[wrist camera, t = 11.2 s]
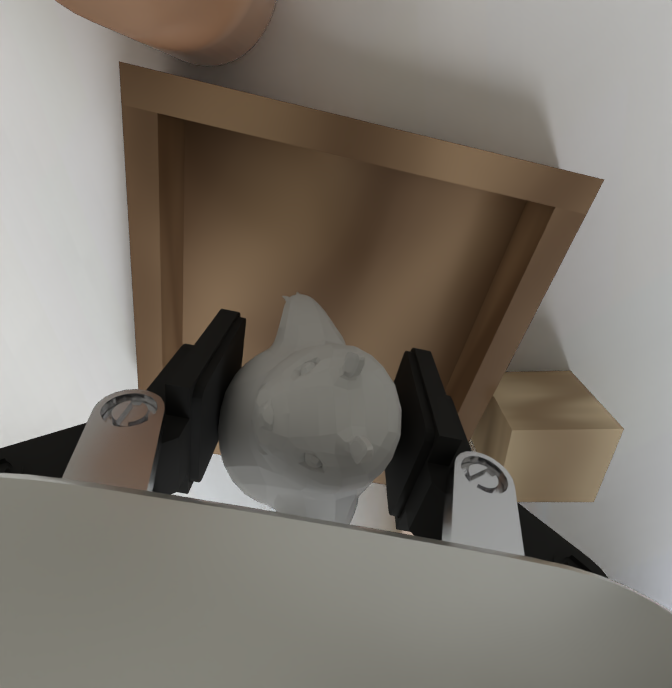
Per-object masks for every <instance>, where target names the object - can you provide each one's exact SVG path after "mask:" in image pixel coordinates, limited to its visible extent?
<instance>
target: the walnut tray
mask: <svg viewBox="0 0 672 688" xmlns="http://www.w3.org/2000/svg"><path fill="white" fill-rule="evenodd" d="M119 69H120V86H121V103H122V120H123V136H124V153H125V170H126V187H127V204H128V221H129V238H130V255H131V271H132V288H133V305H134V322H135V339H136V356H137V373H138V389H140V390H147V388H148V387H149V386H150V385H151V383H152V382H153V381H154V380H155V378H156V377H157V376H158V375H159V373H160V372H161V371H162V370H163V368H164V367H165V366H166V365H167V363H168V362H169V361H170V360H171V358H172V357H173V356H174V355H175V353H176V352H177V351H178V350H179V348H180V347H181V346H182V345H183V344H191V345H194V344H195V343H196V342H197V340H198V339H199V338H200V336H201V335H202V334H203V332H204V331H205V329H206V328H207V327H208V325H209V324H210V323H211V321H212V320H213V319H214V317H215V316H216V315H217V313H218V312H219V311H220V309H226V310H231V311H236V312H240V315H241V317H243V318H246V328H245V338H244V348H243V358H242V367H243V366H244V365H245V364H246V363H247V362H249V361H250V360H251V359H253V358H254V357H255V356H257V355H258V354H260V353H262V352H264V351H265V350H267V349H269V348H270V347H271V346H272V344H273V343H274V341H275V338H276V335H277V332H278V328H279V325H280V321H281V317H282V313H283V308H284V306H285V303H286V301H285V299H284V298H283V297H282V296H288V297H291V296H293V295H296V292H298V293H299V294H303V295H306V296H309V297H311V298H313V299H314V300H315V301H316V302H317V303H318V304H319V305H320V306H321V307H322V308H323V309H324V311H325V312H326V313H327V315H328V316H329V318H330V319H331V321H332V322H333V324H334V325H335V327H336V328H337V330H338V331H339V332H340V334H341V335H342V337H343V339H344V341H345V344H346V345H349V346H355V347H357V348H359V349H361V350H363V351H365V352H366V353H368V354H370V355H372V356H373V357H374V358H375V359H376V360H377V361H378V362H379V363H380V364H381V365H382V366H383V367H384V368H385V370H386V372H387V373H388V375H389V376H390V378H391V379H392V381H393V382H394V380H395V377H396V374H397V371H398V368H399V366H400V363H401V360H402V357H403V354H404V352H405V351H411V349H412V348H417V349H422V350H427V351H431V353H432V356H433V359H434V361H435V364H436V367H437V370H438V373H439V375H440V378H441V381H442V384H443V387H444V389H445V392H446V395H449V396H451V398H452V400H453V402H454V405H455V408H456V410H457V413H458V416H459V418H460V421H461V424H462V427H463V429H464V432H465V435H466V437H467V440H468V443H469V441H470V439H471V437H472V435H473V433H474V431H475V429H476V427H477V425H478V423H479V421H480V420H481V418H482V416H483V414H484V412H485V410H486V408H487V406H488V404H489V402H490V400H491V398H492V396H493V394H494V392H495V390H496V389H497V387H498V385H499V383H500V381H501V379H502V377H503V375H504V373H505V371H506V369H507V367H508V365H509V363H510V361H511V359H512V358H513V356H514V354H515V352H516V350H517V348H518V346H519V344H520V342H521V340H522V338H523V336H524V334H525V332H526V330H527V328H528V327H529V325H530V323H531V321H532V319H533V317H534V315H535V313H536V311H537V309H538V307H539V305H540V303H541V301H542V299H543V297H544V296H545V294H546V292H547V290H548V288H549V286H550V284H551V282H552V280H553V278H554V276H555V274H556V272H557V270H558V268H559V266H560V264H561V263H562V261H563V259H564V257H565V255H566V253H567V251H568V249H569V247H570V245H571V243H572V241H573V239H574V237H575V235H576V233H577V232H578V230H579V228H580V226H581V224H582V222H583V220H584V218H585V216H586V214H587V212H588V210H589V208H590V206H591V204H592V202H593V201H594V199H595V197H596V195H597V193H598V191H599V189H600V187H601V185H602V183H603V181H604V180H603V179H599V178H595V177H591V176H587V175H583V174H579V173H575V172H570V171H566V170H562V169H558V168H554V167H550V166H546V165H542V164H538V163H534V162H529V161H525V160H521V159H517V158H513V157H509V156H505V155H501V154H497V153H493V152H488V151H484V150H480V149H476V148H472V147H468V146H464V145H460V144H456V143H451V142H447V141H443V140H439V139H435V138H431V137H427V136H423V135H419V134H415V133H410V132H406V131H402V130H398V129H394V128H390V127H386V126H382V125H378V124H373V123H369V122H365V121H361V120H357V119H353V118H349V117H345V116H341V115H337V114H332V113H328V112H324V111H320V110H316V109H312V108H308V107H304V106H300V105H296V104H291V103H287V102H283V101H279V100H275V99H271V98H267V97H263V96H259V95H254V94H250V93H246V92H242V91H238V90H234V89H230V88H226V87H222V86H218V85H213V84H209V83H205V82H201V81H197V80H193V79H189V78H185V77H181V76H177V75H172V74H168V73H164V72H160V71H156V70H152V69H148V68H144V67H140V66H135V65H131V64H127V63H123V62H119ZM213 454H218V455H221V452H220V449H219V441H218V443H217V446H216V448H215V450H214V452H213ZM372 482H373V483H379V484H384V485H386V477H385V470H384V471H383V473H382V474H381V475H379V476H378V477H376V478H375V479H374V480H373V481H372Z"/></svg>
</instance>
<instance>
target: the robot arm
mask: <svg viewBox="0 0 672 688" xmlns="http://www.w3.org/2000/svg"><path fill="white" fill-rule="evenodd" d="M245 328H246V318H243V317H241V315H240V312H236V311H231V310H226V309H220V311H219V312H218V313H217V315H216V316H215V317H214V319H213V320H212V321H211V323H210V324H209V325H208V327H207V328H206V329H205V331H204V332H203V334H202V335H201V336H200V338H199V339H198V340H197V342H196V343H195V344H194V345H191V344H183V345H182V346H181V347H180V348H179V350H178V351H177V352H176V353H175V355H174V356H173V357H172V358H171V360H170V361H169V362H168V363H167V365H166V366H165V367H164V368H163V370H162V371H161V372H160V373H159V375H158V376H157V377H156V378H155V380H154V381H153V382H152V383H151V385H150V386H149V387H148V388H147V390H140V389H131V390H123V391H119V392H115V393H113V394H110V395H108V396H106V397H104V398H103V399H102V400H100V401H99V402H98V403H97V404H96V406H95V407H94V408H93V410H92V412H91V415H90V417H89V419H88V421H87V423H84V424H81V425H77V426H74V427H71V428H67V429H64V430H61V431H57V432H54V433H51V434H47V435H44V436H41V437H37V438H34V439H30V440H27V441H24V442H20V443H17V444H14V445H10V446H7V447H4V448H0V688H672V612H671V611H670V610H668V609H667V608H665V607H664V606H662V605H660V604H659V603H657V602H655V601H654V600H652V599H650V598H648V597H646V596H644V595H642V594H640V593H638V592H637V591H635V590H633V589H631V588H629V587H627V586H625V585H623V584H620V583H618V582H615V581H613V580H610V579H609V578H608V577H607V576H606V575H605V573H604V572H603V571H602V570H601V569H600V567H599V566H597V565H596V564H595V563H594V562H593V561H592V560H591V559H590V558H588V557H587V556H586V555H585V554H583V553H582V552H581V551H579V550H578V549H577V548H576V547H574V546H573V545H572V544H570V543H569V542H568V541H566V540H565V539H564V538H563V537H561V536H560V535H559V534H557V533H556V532H555V531H554V530H552V529H551V528H550V527H548V526H547V525H546V524H544V523H543V522H542V521H541V520H539V519H538V518H537V517H535V516H534V515H533V514H532V513H530V512H529V511H528V510H526V509H525V508H524V507H522V506H521V505H520V504H519V503H517V498H516V491H515V485H514V482H513V479H512V477H511V476H510V474H509V473H508V471H507V470H506V469H505V468H504V467H503V466H502V465H501V464H500V463H498V462H497V461H496V460H494V459H493V458H491V457H489V456H487V455H485V454H482V453H478V452H472V451H471V448H470V445H469V443H468V440H467V437H466V435H465V432H464V429H463V427H462V424H461V421H460V418H459V416H458V413H457V410H456V408H455V405H454V402H453V400H452V398H451V396H449V395H446V392H445V389H444V387H443V384H442V381H441V378H440V375H439V373H438V370H437V367H436V364H435V361H434V359H433V356H432V353H431V351H427V350H422V349H417V348H412V349H411V351H405V352H404V354H403V357H402V360H401V363H400V366H399V368H398V371H397V374H396V377H395V380H394V384H395V387H396V390H397V394H398V398H399V402H400V406H401V435H400V439H399V442H398V444H397V447H396V450H395V452H394V455H393V458H392V460H391V461H390V463H389V464H388V465H387V467H386V468H385V477H386V488H387V499H388V509H389V514H390V515H392V516H395V522H396V529H398V530H403V531H409V532H412V534H413V535H414V536H412V535H407V534H402V533H396V532H390V531H384V530H379V529H373V528H367V527H361V526H355V525H350V524H344V523H338V522H332V521H326V520H320V519H314V518H308V517H302V516H297V515H291V514H285V513H279V512H273V511H267V510H261V509H255V508H249V507H243V506H237V505H231V504H225V503H218V502H212V501H206V500H200V499H194V498H188V497H182V496H176V495H171V494H173V493H175V492H179V493H185V494H188V493H189V490H190V488H191V486H192V484H193V482H194V481H195V482H200V481H201V480H202V478H203V475H204V473H205V471H206V469H207V466H208V464H209V462H210V459H211V457H212V455H213V452H214V450H215V448H216V446H217V443H218V441H219V436H218V424H219V416H220V409H221V405H222V402H223V398H224V395H225V392H226V390H227V388H228V386H229V384H230V383H231V381H232V379H233V377H234V376H235V374H236V373H237V372H238V371H239V370H240V369H241V368H242V358H243V348H244V338H245Z"/></svg>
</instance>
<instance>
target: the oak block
mask: <svg viewBox="0 0 672 688" xmlns="http://www.w3.org/2000/svg"><path fill="white" fill-rule="evenodd" d="M623 430H624V429H623V427H622V426H621V425H620V424H619V423H618V422H617V421H616V420H615V419H614V418H613V417H612V415H611V414H610V413H609V412H608V411H607V410H606V409H605V408H604V407H603V406H602V405H601V403H600V402H599V401H598V400H597V399H596V398H595V397H594V396H593V395H592V394H591V393H590V392H589V390H588V389H587V388H586V387H585V386H584V385H583V384H582V383H581V382H580V381H579V380H578V378H577V377H576V376H575V375H574V374H573V373H572V372H571V371H528V372H505V373H504V375H503V377H502V379H501V381H500V383H499V385H498V387H497V389H496V390H495V392H494V394H493V396H492V398H491V400H490V402H489V404H488V406H487V408H486V410H485V412H484V414H483V416H482V418H481V420H480V421H479V423H478V425H477V427H476V429H475V431H474V433H473V435H472V437H471V439H472V442H473V444H474V447H475V449H476V452H478V453H482V454H485V455H487V456H489V457H491V458H493V459H494V460H496V461H497V462H498V463H500V464H501V465H502V466H503V467H504V468H505V469H506V470H507V471H508V473H509V474H510V476H511V477H512V479H513V482H514V485H515V491H516V498H517V502H594V500H595V498H596V495H597V493H598V490H599V488H600V486H601V483H602V481H603V478H604V476H605V473H606V471H607V469H608V466H609V464H610V461H611V459H612V456H613V454H614V452H615V449H616V447H617V444H618V442H619V439H620V437H621V435H622V432H623Z"/></svg>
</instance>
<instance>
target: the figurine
mask: <svg viewBox="0 0 672 688" xmlns="http://www.w3.org/2000/svg"><path fill="white" fill-rule="evenodd" d="M282 297H283V298H284V299H285V301H286V303H285V306H284V308H283V313H282V317H281V321H280V325H279V328H278V332H277V335H276V338H275V341H274V343H273V344H272V346H271V347H270V348H269V349H267V350H265V351H264V352H262V353H260V354H258V355H257V356H255V357H254V358H253V359H251V360H250V361H249V362H247V363H246V364H245V365H244V366H243V367H242V368H241V369H240V370H239V371H238V372H237V373H236V374H235V376H234V377H233V379H232V381H231V383H230V384H229V386H228V388H227V390H226V392H225V395H224V398H223V402H222V405H221V409H220V416H219V424H218V436H219V449H220V452H221V456H222V460H223V463H224V466H225V468H226V470H227V472H228V473H229V475H230V477H231V479H232V481H233V482H234V483H235V484H236V485H237V486H238V487H239V488H240V489H241V490H242V491H243V492H244V494H246V495H248V496H249V497H251V498H253V499H254V500H256V501H257V502H260V503H263V504H266V505H268V506H270V507H272V508H274V509H275V510H276V511H277V512H279V513H285V514H291V515H297V516H302V517H308V518H314V519H320V520H326V521H332V522H338V523H344V524H350V522H351V520H352V518H353V515H354V513H355V510H356V507H357V503H358V496H359V495H360V494H361V493H362V492H363V491H364V490H365V489H366V488H367V487H368V486H369V485H370V484H371V483H372V481H373V480H374V479H375V478H376V477H378V476H379V475H381V474H382V473H383V471H384V470H385V468H386V467H387V465H388V464H389V463H390V461H391V460H392V458H393V455H394V452H395V450H396V447H397V444H398V442H399V439H400V435H401V406H400V402H399V398H398V394H397V390H396V387H395V384H394V382H393V381H392V379H391V378H390V376H389V375H388V373H387V372H386V370H385V368H384V367H383V366H382V365H381V364H380V363H379V362H378V361H377V360H376V359H375V358H374V357H373V356H372V355H370V354H368V353H366V352H365V351H363V350H361V349H359V348H357V347H355V346H349V345H346V344H345V341H344V339H343V337H342V335H341V334H340V332H339V331H338V330H337V328H336V327H335V325H334V324H333V322H332V321H331V319H330V318H329V316H328V315H327V313H326V312H325V311H324V309H323V308H322V307H321V306H320V305H319V304H318V303H317V302H316V301H315V300H314V299H313V298H311V297H309V296H306V295H303V294H299V293H298V292H296V295H293V296H291V297H288V296H282Z"/></svg>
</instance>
